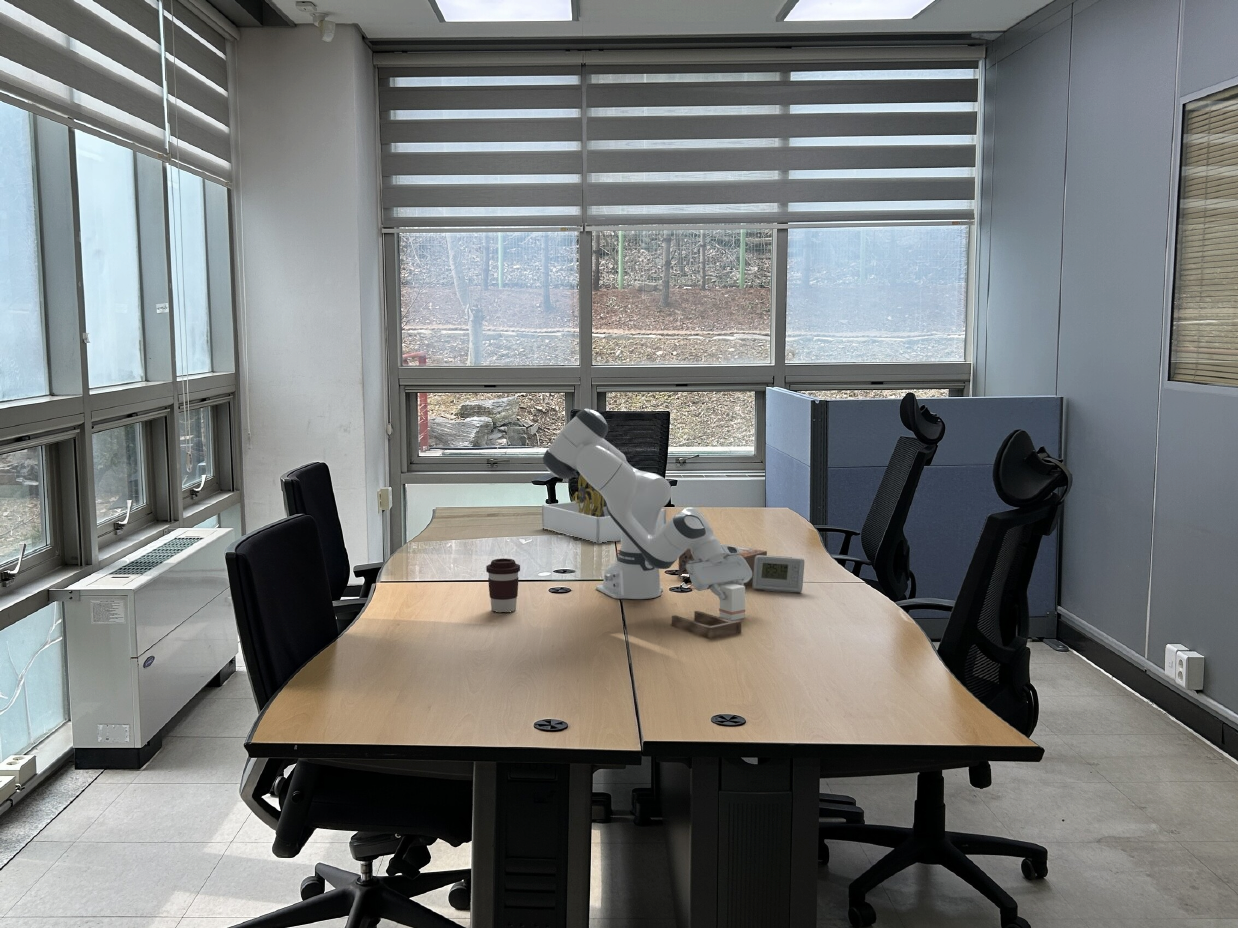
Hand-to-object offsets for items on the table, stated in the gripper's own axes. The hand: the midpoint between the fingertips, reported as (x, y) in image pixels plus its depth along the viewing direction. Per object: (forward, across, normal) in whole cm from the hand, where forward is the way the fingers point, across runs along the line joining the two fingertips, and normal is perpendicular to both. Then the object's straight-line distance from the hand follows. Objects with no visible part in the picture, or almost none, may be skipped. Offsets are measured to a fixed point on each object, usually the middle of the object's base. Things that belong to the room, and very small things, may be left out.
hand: (733, 597), depth 305 cm
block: (+4, 0, +5) cm, 7 cm away
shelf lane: (+8, -14, +2) cm, 16 cm away
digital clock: (-9, +38, +20) cm, 44 cm away
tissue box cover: (-26, +36, +37) cm, 58 cm away
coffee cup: (-30, -45, +41) cm, 68 cm away
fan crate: (-92, +54, +103) cm, 148 cm away
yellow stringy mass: (-89, +58, +100) cm, 146 cm away
